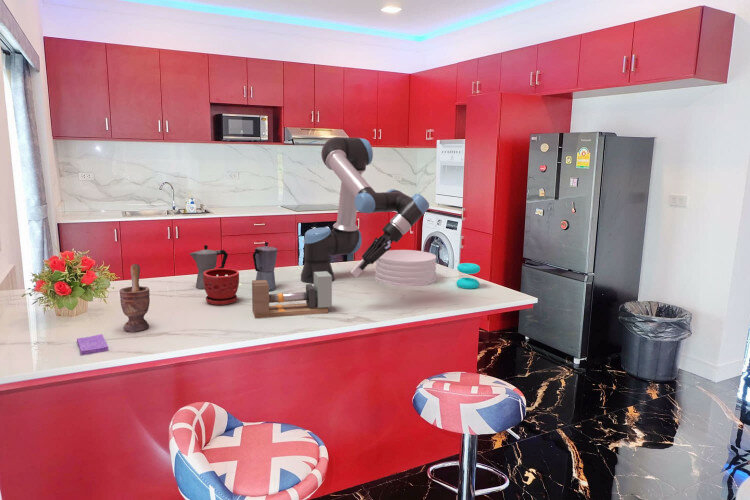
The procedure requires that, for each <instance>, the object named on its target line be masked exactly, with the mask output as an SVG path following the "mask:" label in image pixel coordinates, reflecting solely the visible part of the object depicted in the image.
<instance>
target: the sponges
mask: <svg viewBox="0 0 750 500" xmlns="http://www.w3.org/2000/svg"><path fill="white" fill-rule="evenodd" d="M76 343H77V347H78V349H79V352H80V356H86V355H90V354H91V355H93V354H97V353H103V352H104V353H105V352H108V351H109V345H108V343H107V341H106V339H105V337H104V335H103V333H100V334H96V335H91V336H86V337H79V338H76Z"/></svg>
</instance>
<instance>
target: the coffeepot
mask: <svg viewBox="0 0 750 500" xmlns="http://www.w3.org/2000/svg"><path fill="white" fill-rule="evenodd" d="M208 247H209V246H208V245H207V244H205V245H204V246H203V248H204V249H201V250H197V251H193V252H190V253H189V256H191V258H192V259H193V260H194V261H195V263H196V264H195V265H196V268H197V269H198V272H197V276H196V277H197V278H196V282H195V288H197V289H199V290H205V288H204V281H203V273H204V272H205V271H207V270H210V269H216V267H217V261H218V256H221V255H223V257H222V261H221V265H220V266H218V267H217V268H225V266H226V263H227V259H228V257H229V254H228V252H227V251H226V250H224V249H217V250H213V249H208ZM216 276H218V275H216ZM209 284H211V283H209Z"/></svg>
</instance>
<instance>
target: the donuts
mask: <svg viewBox="0 0 750 500" xmlns="http://www.w3.org/2000/svg"><path fill="white" fill-rule="evenodd" d="M456 268H457V271H458V272H460V273H462V274H465V275H474V274H478V273H479V272H480V271H481V267H480V265H478V264H476V263H473V262H472V263H471V262H463V263H458V265H457V266H456ZM455 284H456V286H457V287H459V288H462V289H467V290H472V289H477V288H478V287H480V282H479V280H478V279H476V278H473V277H461V278H459V279H457V280H456V283H455Z"/></svg>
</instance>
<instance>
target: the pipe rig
mask: <svg viewBox="0 0 750 500" xmlns="http://www.w3.org/2000/svg"><path fill="white" fill-rule="evenodd" d="M251 295H252V296H251V297H252V298H251V299H252V302H251V303H252V308H251V309H252V314H253V316H254V319H265V318H277V317H278V318H279V317H291V316H303V315H304V316H305V315H316V314H317V315H318V314H328V312H329V307H322V308H318V307H317V306H316V304H315V308H309V306H308V305H307V303H306V302H305V303H304V302H303V301H306V300H309V292H306V291H301V292H287V293H284V292H280V293H279V292H278V293H272V294H271V293H270V291H269V284H268V283H267V281H266V280H256V279H255V280H251ZM315 300H317V291H315ZM299 301H300V302H301V301H302V302H303V303H292V304H290V303H288V304H276V305H275V304H274V305H273V304H272V305H270V304H271V303H287V302H299Z"/></svg>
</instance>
